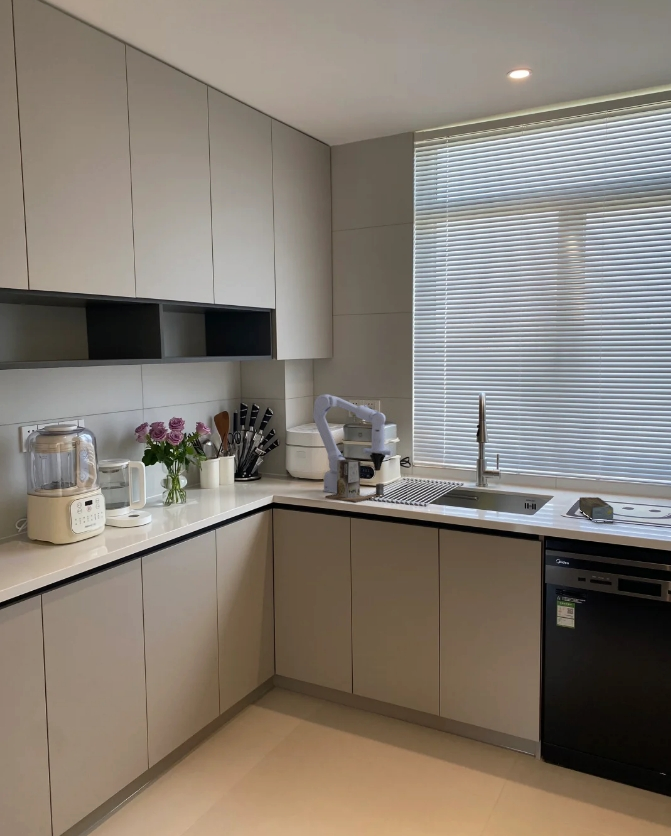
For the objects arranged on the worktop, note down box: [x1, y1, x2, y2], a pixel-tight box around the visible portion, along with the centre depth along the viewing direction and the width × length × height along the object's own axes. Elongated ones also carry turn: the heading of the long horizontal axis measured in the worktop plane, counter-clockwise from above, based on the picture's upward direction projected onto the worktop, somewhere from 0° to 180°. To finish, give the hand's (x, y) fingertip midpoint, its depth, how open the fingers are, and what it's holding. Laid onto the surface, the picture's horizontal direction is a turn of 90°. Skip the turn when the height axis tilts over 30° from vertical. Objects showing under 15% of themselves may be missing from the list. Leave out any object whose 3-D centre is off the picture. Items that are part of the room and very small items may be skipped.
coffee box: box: [336, 458, 361, 498], centre depth 299 cm, size 9×6×16 cm
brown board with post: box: [324, 482, 385, 503], centre depth 302 cm, size 16×21×5 cm
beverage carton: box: [578, 496, 614, 521], centre depth 267 cm, size 8×19×7 cm, turn 175°
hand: (377, 470), depth 310 cm, fingers closed
